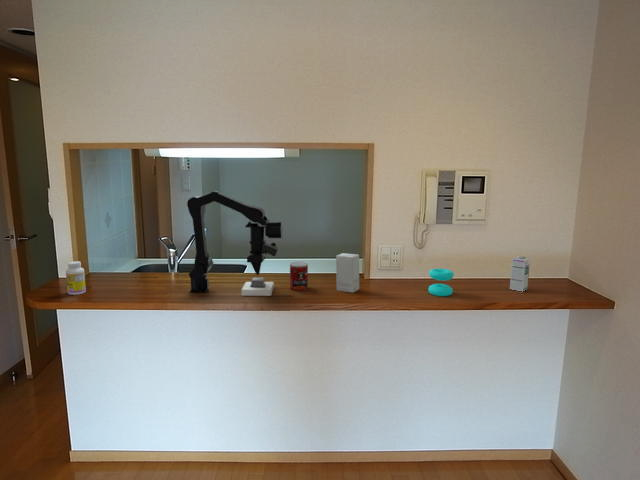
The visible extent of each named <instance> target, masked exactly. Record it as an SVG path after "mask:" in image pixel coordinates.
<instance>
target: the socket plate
mask: <svg viewBox="0 0 640 480" xmlns="http://www.w3.org/2000/svg"><path fill="white" fill-rule="evenodd" d="M274 285H275V282H274V281H265V288H253V287H252V285H251V281H246V282H245V283H244V284H243V285H242V288H241V296H243V297H244V296H245V297H246V296H249V297H251V296H252V297H253V296H255V297H256V296H258V297H262V296H263V297H267V296H268V297H269V296H272V295H273V294H272V293H273V291H274V287H275V286H274Z"/></svg>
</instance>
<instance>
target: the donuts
mask: <svg viewBox="0 0 640 480" xmlns="http://www.w3.org/2000/svg"><path fill="white" fill-rule="evenodd" d="M428 274H429V277H430V278H431V279H433V280H436V281H450V280H452V279H453V278H454V276H455V273H454V272H453V271H452V270H451V269H447V268H432V269H431V270H429V272H428ZM427 290H428V292H429V293H430V294H431V295H433V296H438V297H448V296H452V294H453V292H454V290H453V288H452V287H451V286H450V285H449V284H445V283H433V284H431V285H429V287H428V289H427Z"/></svg>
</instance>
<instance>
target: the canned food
mask: <svg viewBox="0 0 640 480" xmlns="http://www.w3.org/2000/svg"><path fill="white" fill-rule="evenodd" d="M308 267H309V264H308V263H307V262H303V261H294V262H291V263H289V287H290V290H291V291H295V292H296V291H297V292H300V291H301V292H302V291H306V290H308V284H309V283H308V281H309V279H308V278H309V275H308V274H309V273H308V272H309V268H308Z"/></svg>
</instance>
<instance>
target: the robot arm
mask: <svg viewBox="0 0 640 480" xmlns="http://www.w3.org/2000/svg"><path fill="white" fill-rule="evenodd" d="M214 202H215V203H218V204H219V205H222V206H224V207H226V208H229V209H231V210H233V211H235V212H238V213H240V214H241V215H243V216H244V217H245V218H246V219H248V220H249V221H248V223H247V224H245V228H250V229H249V232H250V233H249V234H250V235H249V236H250V240H249V245H250V250H249V255H248V256H247V257H246V262H247V263H250V264H251V266H252V268H253V271H254V273H255V275H257V276H259V275H260V273H261V267H262V263H263V262H264V261H265V259H266V256H264V255H270V256H271V257H276V255H277V253H278V250H279V247H278V246H277V244H276V242H273V241H272V242H271V243H267V241H266V239H265V237H267V238H268V239H282V238H283V233H284V232H283V225H282V221H277V222H276V221H275V222H274V221H270V220H269V218H268V217H267V216H266V212H265V210H264V209H263V208H262V207H260V206H255V205H251V204H247V203H243V202H241V201H239V200H238V199H235V198H233V197H230V196H228V195H226V194H223V193H221V192H220V191H218V190H213V191H211V192H210V193H208V194H205V195H202V196H199V195H196V196H192V197H190V198H189V199H188V200H187V201H186V206H187V209H188V213H189V215H190V217H191V219H192V223H193V224H192V226H193V227H192V228H193V234H194V243H195V257H194V263H193V264H194V265H193V267H194V268H193V269H192V270H191V271H190V272H189V273H188V276H189V278H190V289H189V292H190V293H205V292H207V291H208V289H210V286H209V285H210V284H209V283H210V282H209V280H210V279H209V278H208V275H207V274H208V272H209V271H210V270H211V269H212V267H213V264H214V262H213V261H214V260H213V254H209V252H208V248H207V239H206V237H207V236H206V229H205V220H204V219H205V213H206V206H207V205H209V204H211V203H214Z"/></svg>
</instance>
